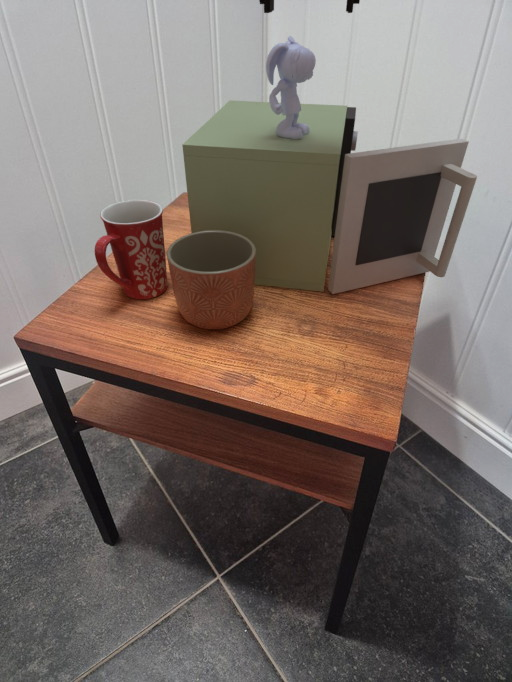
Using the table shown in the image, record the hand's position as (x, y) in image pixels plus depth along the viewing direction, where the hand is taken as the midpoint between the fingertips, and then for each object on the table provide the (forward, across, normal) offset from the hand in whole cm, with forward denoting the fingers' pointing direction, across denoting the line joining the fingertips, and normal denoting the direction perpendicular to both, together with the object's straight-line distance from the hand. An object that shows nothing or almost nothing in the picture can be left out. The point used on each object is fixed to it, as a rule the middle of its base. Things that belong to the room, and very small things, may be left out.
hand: (308, 12), depth 52 cm
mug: (+37, -25, -10) cm, 45 cm away
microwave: (+37, -5, +11) cm, 38 cm away
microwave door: (+37, +16, -1) cm, 40 cm away
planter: (+37, -11, -12) cm, 40 cm away
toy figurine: (+15, -2, +4) cm, 16 cm away
